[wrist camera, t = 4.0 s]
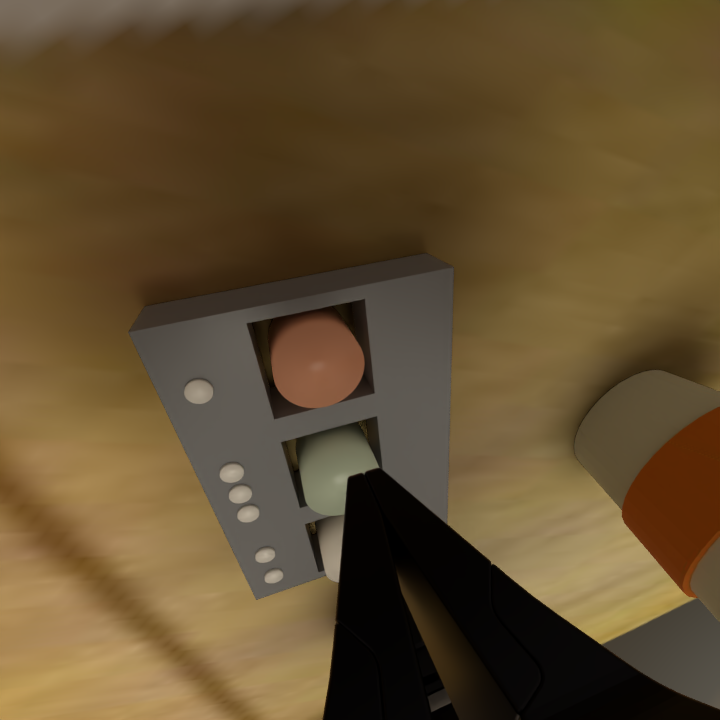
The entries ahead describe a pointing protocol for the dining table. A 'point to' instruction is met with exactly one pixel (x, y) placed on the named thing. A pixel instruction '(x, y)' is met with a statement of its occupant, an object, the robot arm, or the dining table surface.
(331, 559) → the button cream
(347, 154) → the dining table surface
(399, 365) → the button panel
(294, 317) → the button terracotta
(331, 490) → the button sage
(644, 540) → the reusable coffee cup
